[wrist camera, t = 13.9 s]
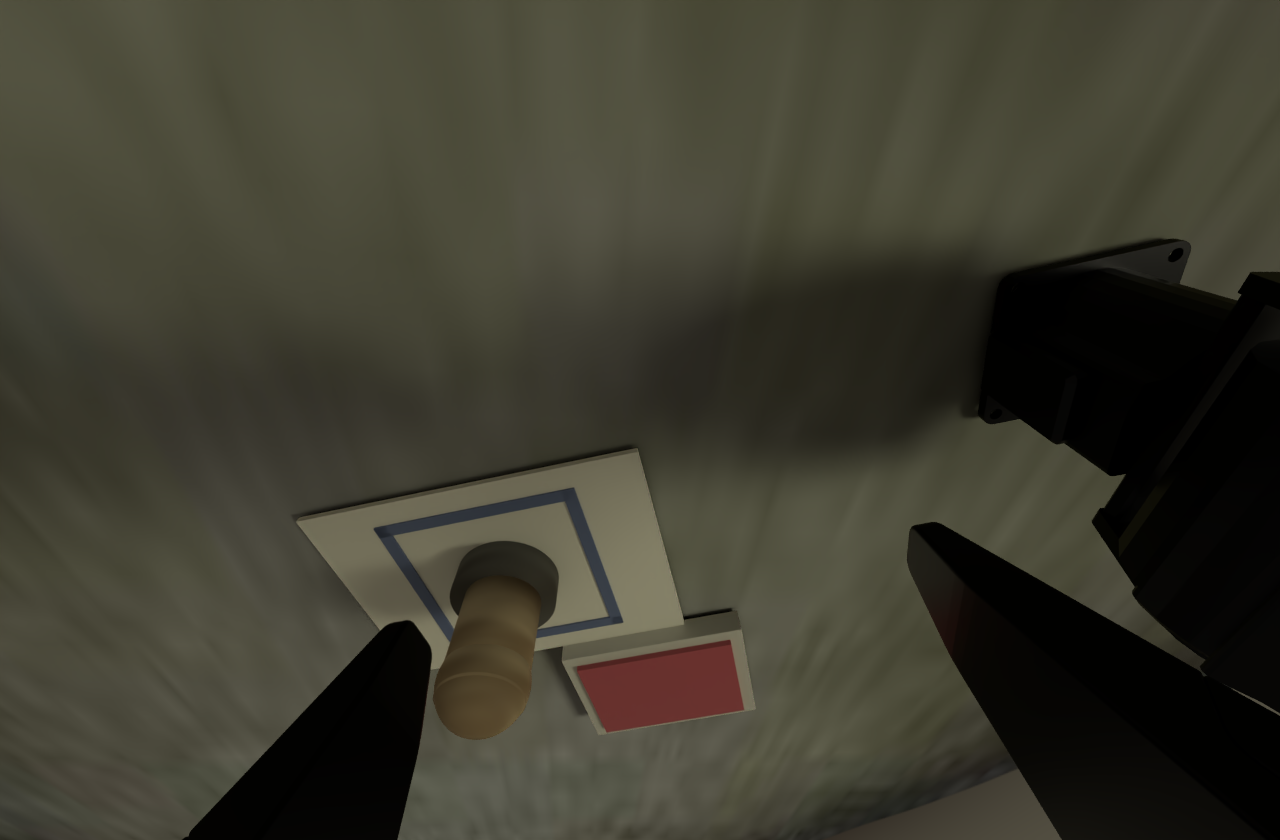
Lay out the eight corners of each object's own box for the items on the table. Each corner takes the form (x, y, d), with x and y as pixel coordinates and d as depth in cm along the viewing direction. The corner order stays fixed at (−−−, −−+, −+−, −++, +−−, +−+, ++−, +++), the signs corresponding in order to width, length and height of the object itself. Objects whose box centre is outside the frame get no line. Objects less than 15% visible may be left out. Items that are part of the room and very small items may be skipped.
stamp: (570, 600, 26) (556, 755, 20) (480, 616, 27) (437, 774, 20) (540, 532, 24) (513, 685, 17) (441, 551, 24) (378, 708, 18)
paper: (637, 447, 22) (637, 453, 21) (683, 619, 28) (684, 626, 28) (299, 517, 23) (294, 523, 23) (414, 667, 29) (412, 674, 29)
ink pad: (736, 610, 28) (742, 634, 26) (751, 690, 32) (756, 714, 30) (563, 641, 28) (560, 666, 27) (599, 715, 33) (598, 740, 31)
